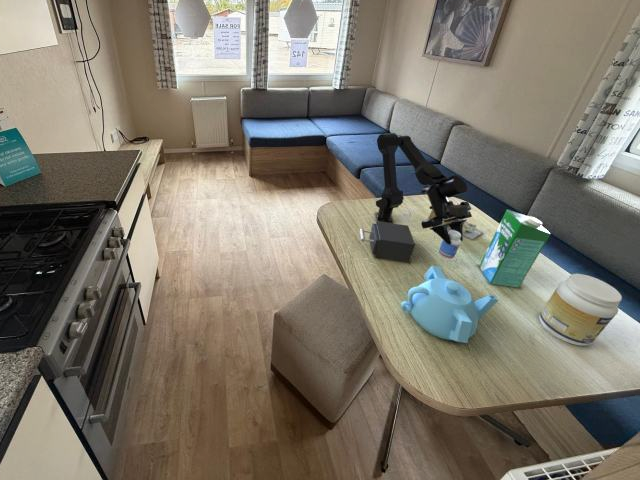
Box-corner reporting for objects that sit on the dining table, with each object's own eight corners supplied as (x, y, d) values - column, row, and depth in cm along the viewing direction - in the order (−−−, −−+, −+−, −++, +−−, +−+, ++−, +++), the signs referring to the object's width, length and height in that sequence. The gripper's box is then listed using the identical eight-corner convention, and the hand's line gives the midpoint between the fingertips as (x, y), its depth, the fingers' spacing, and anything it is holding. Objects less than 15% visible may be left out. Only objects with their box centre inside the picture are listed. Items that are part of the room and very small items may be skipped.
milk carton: (519, 288, 105) (554, 227, 93) (490, 283, 107) (521, 223, 95) (505, 270, 113) (537, 212, 101) (478, 266, 114) (506, 208, 103)
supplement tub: (585, 356, 83) (623, 312, 75) (531, 324, 92) (559, 282, 84) (595, 333, 90) (631, 291, 82) (544, 306, 98) (571, 265, 90)
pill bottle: (453, 261, 111) (463, 239, 106) (437, 255, 113) (445, 234, 109) (454, 253, 115) (464, 232, 110) (438, 248, 117) (447, 227, 113)
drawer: (359, 252, 118) (362, 237, 115) (357, 235, 128) (360, 221, 125) (402, 259, 115) (407, 244, 112) (397, 241, 125) (401, 227, 122)
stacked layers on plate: (448, 227, 136) (452, 217, 134) (458, 222, 141) (462, 211, 138) (472, 239, 129) (477, 228, 126) (482, 233, 133) (487, 222, 131)
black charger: (375, 257, 117) (380, 239, 113) (371, 238, 128) (376, 221, 124) (409, 263, 115) (415, 244, 111) (402, 242, 126) (408, 225, 122)
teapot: (453, 358, 82) (472, 322, 75) (390, 309, 95) (401, 276, 89) (485, 324, 91) (504, 290, 85) (423, 285, 105) (435, 253, 99)
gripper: (438, 199, 103) (456, 245, 99) (477, 190, 109) (495, 233, 105) (413, 207, 113) (429, 249, 109) (450, 199, 119) (465, 238, 116)
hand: (455, 242), depth 110 cm, fingers closed on pill bottle, 5 cm apart
